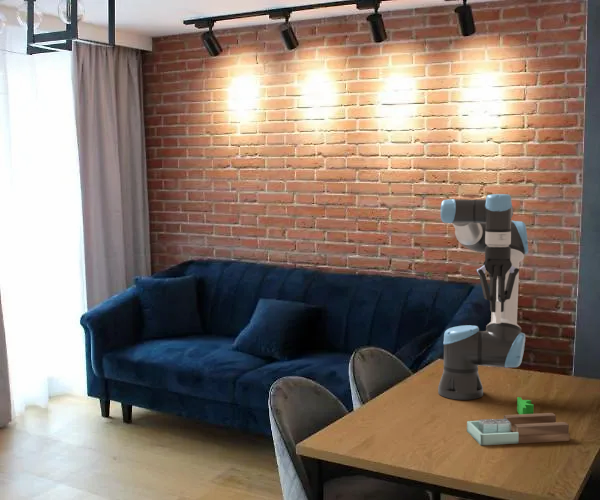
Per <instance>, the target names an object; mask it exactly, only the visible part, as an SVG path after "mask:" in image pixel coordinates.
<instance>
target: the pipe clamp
mask: <svg viewBox="0 0 600 500" xmlns="http://www.w3.org/2000/svg"><path fill="white" fill-rule="evenodd" d="M534 407H535V406H534V404H532V399H522V396H517V397H516V411H517V413H518V414H534V409H535V408H534Z"/></svg>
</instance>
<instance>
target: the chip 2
mask: <svg viewBox="0 0 600 500" xmlns="http://www.w3.org/2000/svg"><path fill="white" fill-rule="evenodd" d="M492 419H493V420H494V421H495V422H496V423H497V433H510V432H511V422H509V421H508V420H507V419H504V418H492Z"/></svg>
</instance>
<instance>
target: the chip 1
mask: <svg viewBox="0 0 600 500" xmlns="http://www.w3.org/2000/svg"><path fill="white" fill-rule="evenodd" d="M493 419H494V418H487V419H486V418H485V419H484V418H483V419H478V421H479V431H480V432H481V433H482V434H490V433H497V423H496V422H495V421H494V420H493Z"/></svg>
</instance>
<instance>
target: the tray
mask: <svg viewBox="0 0 600 500" xmlns="http://www.w3.org/2000/svg"><path fill="white" fill-rule="evenodd" d="M466 432H467V433H468V434H469V435H470V436H471V437H472V438H473V440H475V441H476V442H477V443H478V444H479V446H495V445H511V444H519V443H518V439H519V433H518V432H510V433H490V434H482V433H481V432H480V431H479V420H467V421H466Z"/></svg>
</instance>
